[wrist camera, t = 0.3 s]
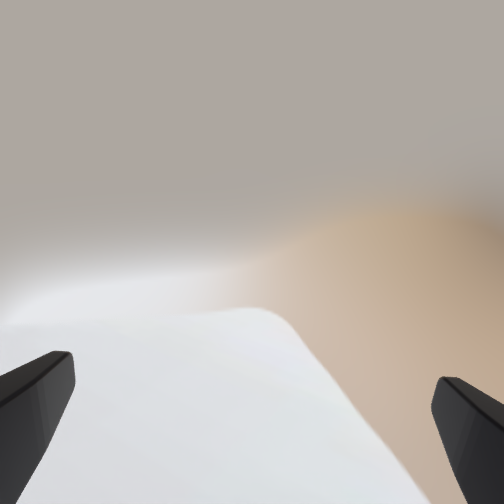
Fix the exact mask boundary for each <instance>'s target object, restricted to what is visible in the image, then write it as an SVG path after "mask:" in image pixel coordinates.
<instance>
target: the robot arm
mask: <svg viewBox="0 0 504 504" xmlns="http://www.w3.org/2000/svg"><path fill="white" fill-rule="evenodd" d="M74 387H75V371H74V361H73V355H72V354H71V353H70V352H67V351H52V352H50V353H48V354H46V355H43V356H41V357H39V358H37V359H35V360H33V361H31V362H29V363H27V364H24V365H22V366H20V367H18V368H16V369H14V370H12V371H10V372H8V373H6V374H3V375H1V376H0V504H16V502H17V500H18V499H19V497H20V495H21V493H22V492H23V490H24V488H25V487H26V485H27V483H28V481H29V480H30V478H31V476H32V474H33V473H34V471H35V469H36V468H37V466H38V464H39V462H40V461H41V459H42V457H43V455H44V453H45V452H46V450H47V448H48V446H49V443H50V441H51V439H52V437H53V435H54V433H55V430H56V428H57V426H58V424H59V421H60V419H61V417H62V415H63V413H64V410H65V408H66V406H67V404H68V401H69V399H70V397H71V395H72V393H73V390H74ZM431 411H432V414H433V417H434V420H435V423H436V426H437V428H438V431H439V434H440V437H441V440H442V443H443V445H444V448H445V451H446V454H447V456H448V459H449V462H450V465H451V467H452V470H453V472H454V475H455V477H456V479H457V482H458V484H459V486H460V488H461V490H462V493H463V495H464V496H465V499H466V501H467V503H468V504H504V404H502V403H500V402H498V401H497V400H495V399H493V398H492V397H490V396H488V395H487V394H485V393H483V392H482V391H480V390H478V389H477V388H475V387H473V386H472V385H470V384H468V383H467V382H465V381H463V380H461V379H460V378H457V377H441V378H439V380H438V382H437V385H436V389H435V392H434V396H433V399H432V403H431Z"/></svg>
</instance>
